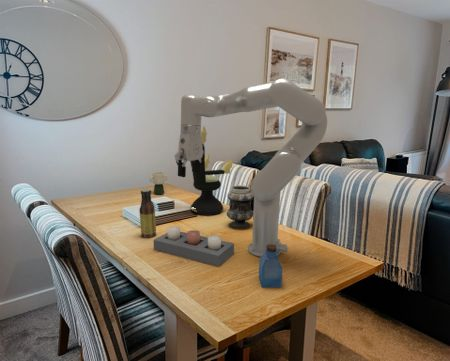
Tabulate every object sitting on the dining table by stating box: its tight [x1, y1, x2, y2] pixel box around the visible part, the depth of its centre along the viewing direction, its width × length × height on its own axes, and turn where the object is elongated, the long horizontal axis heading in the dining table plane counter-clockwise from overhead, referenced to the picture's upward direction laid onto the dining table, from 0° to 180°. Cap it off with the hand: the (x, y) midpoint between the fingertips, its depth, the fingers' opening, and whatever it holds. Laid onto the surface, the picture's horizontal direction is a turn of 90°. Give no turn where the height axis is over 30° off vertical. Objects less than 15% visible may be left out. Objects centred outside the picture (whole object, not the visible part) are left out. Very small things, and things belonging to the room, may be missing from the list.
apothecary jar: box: [226, 184, 254, 230], centre depth 155 cm, size 12×12×18 cm
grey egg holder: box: [153, 231, 235, 268], centre depth 128 cm, size 28×12×4 cm, turn 62°
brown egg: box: [186, 230, 201, 246], centre depth 128 cm, size 5×5×5 cm
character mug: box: [149, 171, 168, 195], centre depth 207 cm, size 11×7×13 cm, turn 120°
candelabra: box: [189, 125, 233, 216], centre depth 170 cm, size 19×22×45 cm
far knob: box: [166, 225, 181, 241], centre depth 132 cm, size 5×5×5 cm
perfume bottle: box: [258, 244, 283, 288], centre depth 107 cm, size 6×6×12 cm
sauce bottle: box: [138, 188, 157, 239], centre depth 141 cm, size 7×6×20 cm
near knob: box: [207, 234, 222, 251], centre depth 124 cm, size 5×5×5 cm
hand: (189, 174), depth 131 cm, fingers open, 9 cm apart
